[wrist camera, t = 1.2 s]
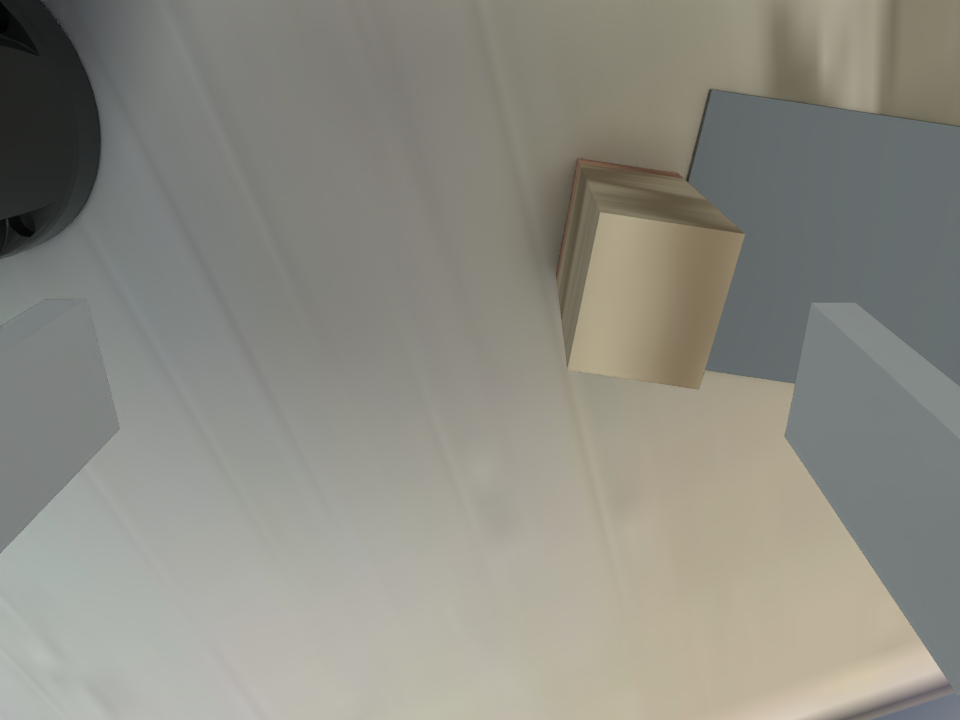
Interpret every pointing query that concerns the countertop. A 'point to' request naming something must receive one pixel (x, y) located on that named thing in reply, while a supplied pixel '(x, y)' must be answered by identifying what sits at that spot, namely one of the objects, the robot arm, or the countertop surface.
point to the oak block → (642, 274)
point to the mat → (831, 226)
